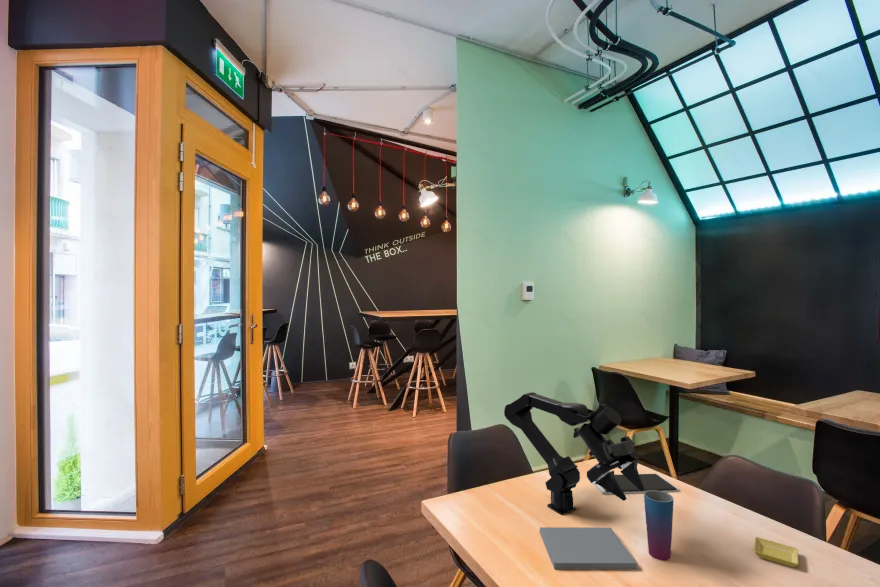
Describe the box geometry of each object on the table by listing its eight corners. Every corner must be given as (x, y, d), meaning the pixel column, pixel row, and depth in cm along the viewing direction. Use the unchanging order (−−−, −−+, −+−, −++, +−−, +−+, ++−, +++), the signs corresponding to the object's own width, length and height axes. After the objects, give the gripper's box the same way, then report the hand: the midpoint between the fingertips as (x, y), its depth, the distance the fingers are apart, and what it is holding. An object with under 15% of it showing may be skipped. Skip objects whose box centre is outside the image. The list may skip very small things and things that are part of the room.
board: (554, 569, 101) (554, 562, 101) (539, 532, 117) (539, 527, 117) (636, 569, 101) (636, 563, 101) (610, 532, 117) (610, 527, 117)
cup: (678, 564, 103) (677, 503, 103) (649, 561, 104) (648, 500, 104) (669, 548, 109) (668, 490, 110) (641, 545, 111) (640, 488, 111)
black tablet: (680, 494, 142) (680, 488, 142) (603, 496, 140) (603, 491, 140) (657, 477, 155) (657, 473, 155) (586, 479, 153) (586, 474, 153)
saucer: (755, 543, 112) (755, 535, 112) (797, 556, 106) (797, 547, 106) (753, 559, 105) (753, 550, 105) (798, 573, 100) (798, 564, 100)
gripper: (595, 434, 111) (636, 490, 102) (632, 422, 122) (672, 471, 113) (571, 455, 117) (607, 510, 108) (608, 442, 129) (644, 490, 119)
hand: (634, 495), depth 112 cm, fingers open, 9 cm apart
